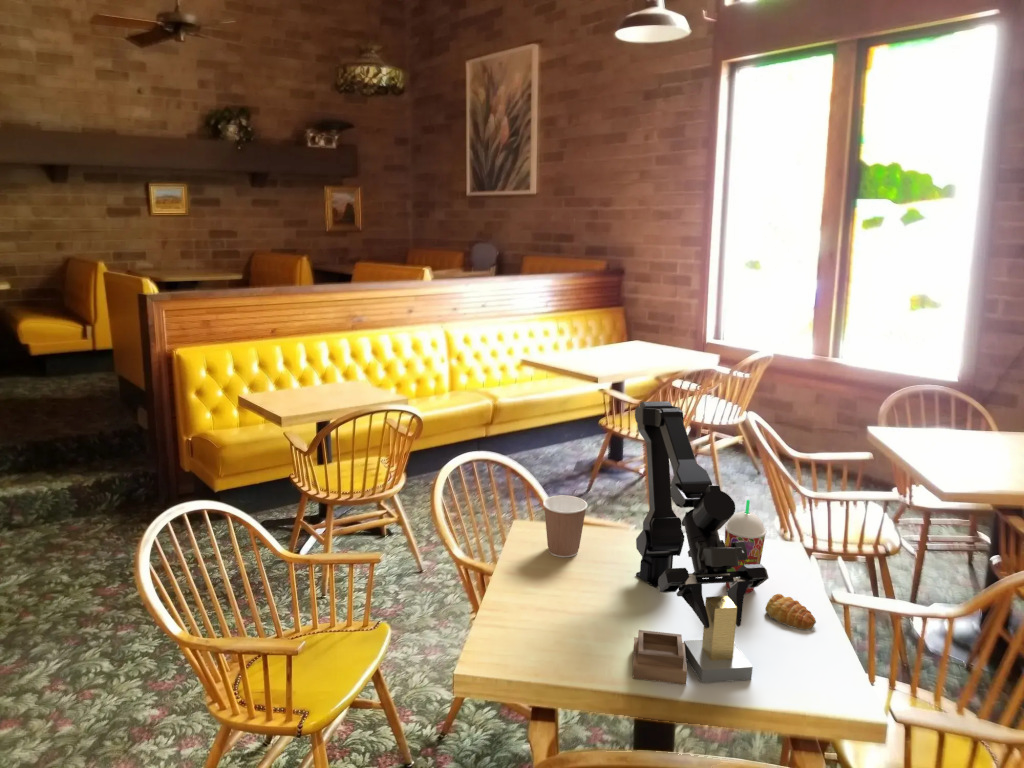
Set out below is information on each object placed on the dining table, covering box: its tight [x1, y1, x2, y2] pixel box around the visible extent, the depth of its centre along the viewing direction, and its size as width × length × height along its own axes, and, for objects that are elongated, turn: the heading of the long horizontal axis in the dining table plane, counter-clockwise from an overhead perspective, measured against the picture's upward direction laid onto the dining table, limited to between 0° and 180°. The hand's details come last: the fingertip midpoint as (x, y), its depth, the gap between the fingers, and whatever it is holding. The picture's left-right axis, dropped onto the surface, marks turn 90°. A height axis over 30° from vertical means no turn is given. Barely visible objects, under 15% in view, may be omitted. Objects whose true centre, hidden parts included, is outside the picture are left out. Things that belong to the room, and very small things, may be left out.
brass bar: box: [702, 595, 737, 661], centre depth 133 cm, size 4×4×10 cm
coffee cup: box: [542, 494, 588, 558], centre depth 177 cm, size 10×10×12 cm
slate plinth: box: [683, 639, 753, 684], centre depth 135 cm, size 9×9×2 cm
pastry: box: [765, 593, 817, 631], centre depth 151 cm, size 9×7×4 cm
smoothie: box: [724, 499, 767, 594], centre depth 161 cm, size 8×8×20 cm
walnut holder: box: [632, 629, 688, 686], centre depth 134 cm, size 9×9×4 cm
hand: (723, 627), depth 132 cm, fingers open, 5 cm apart
